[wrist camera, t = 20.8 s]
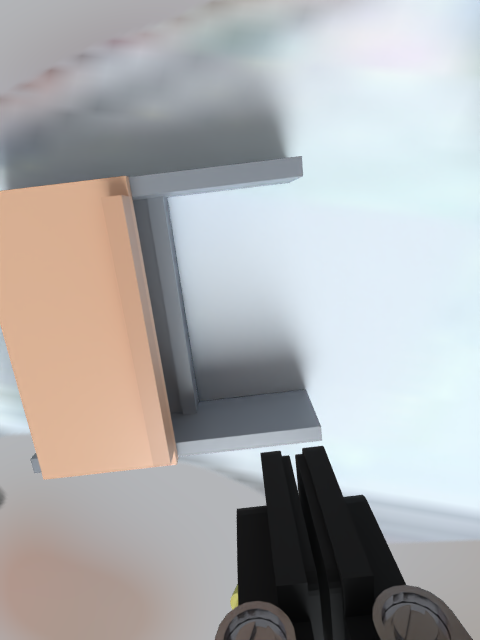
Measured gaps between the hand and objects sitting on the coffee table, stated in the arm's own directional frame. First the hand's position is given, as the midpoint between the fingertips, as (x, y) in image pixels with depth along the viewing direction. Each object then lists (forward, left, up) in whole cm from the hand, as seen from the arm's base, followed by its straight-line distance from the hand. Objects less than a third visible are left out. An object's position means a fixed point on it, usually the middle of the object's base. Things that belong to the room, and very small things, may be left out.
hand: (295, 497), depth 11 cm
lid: (+12, 0, -18) cm, 22 cm away
